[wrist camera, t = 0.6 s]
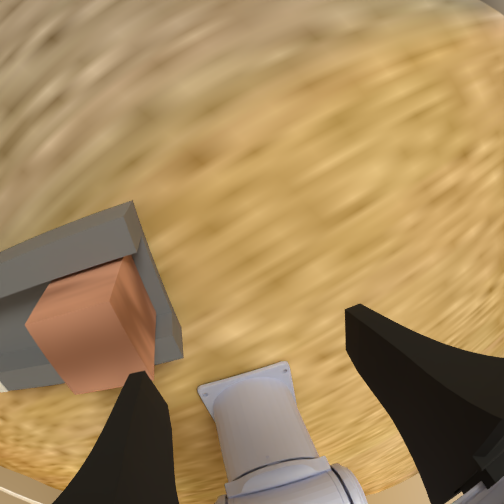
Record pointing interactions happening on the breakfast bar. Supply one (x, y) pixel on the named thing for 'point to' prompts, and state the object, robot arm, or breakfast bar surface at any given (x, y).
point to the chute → (64, 263)
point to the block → (96, 326)
